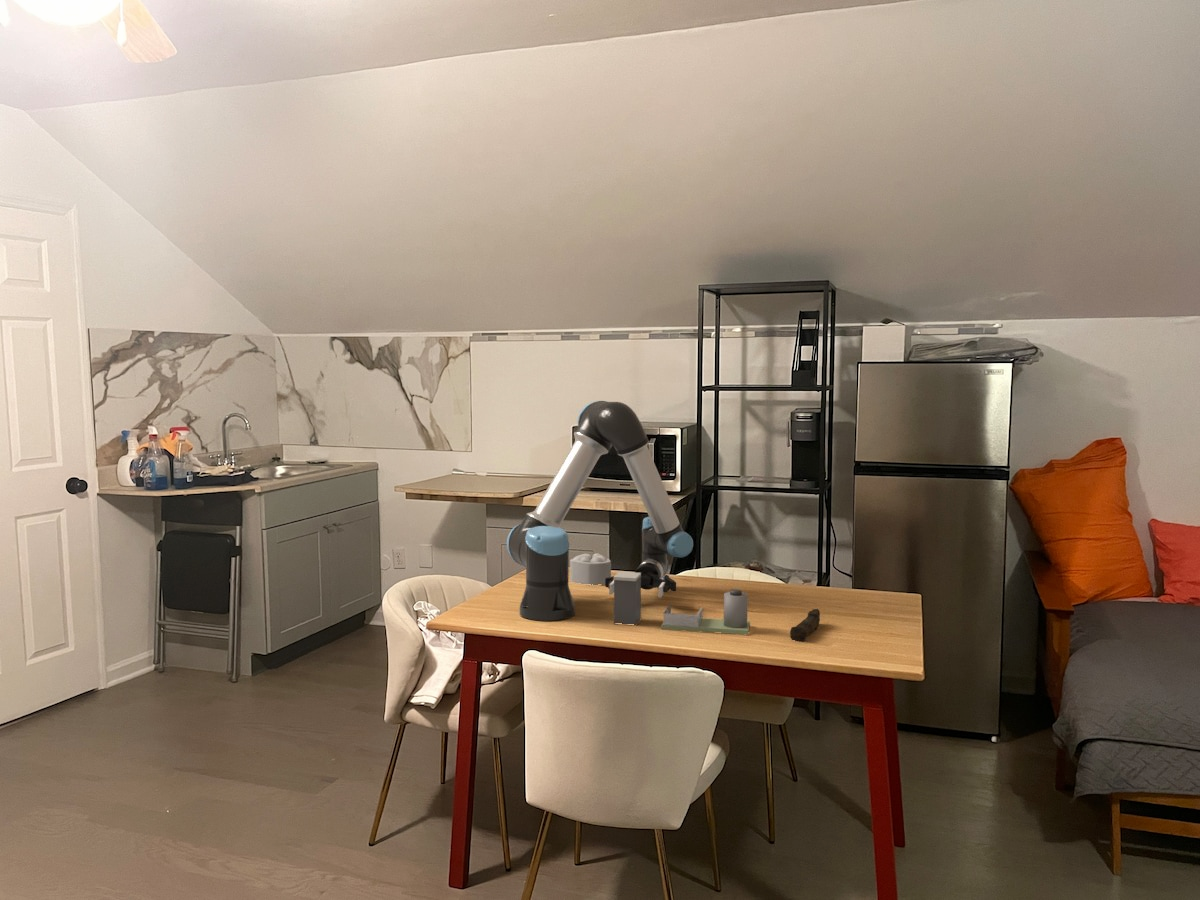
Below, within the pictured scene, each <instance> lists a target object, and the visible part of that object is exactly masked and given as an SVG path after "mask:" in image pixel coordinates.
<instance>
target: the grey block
mask: <svg viewBox="0 0 1200 900" xmlns="http://www.w3.org/2000/svg"><path fill="white" fill-rule="evenodd" d="M613 576H614V577H613V580H614V593H613V624H614V623H622V624H634V625H636V624H637V623H638V622H639V623H640V622H641V620H640V619H642V618H641V616H642V613H641V611H642V609H641V607H642V603H641V602H642V598H641V597H642V596H641V595H642V588H641V573H635V571H634V572H631V571H618V572H617V573H616V574H615V575H613ZM639 623H638V624H639ZM638 624H637V625H638ZM637 625H636V626H637Z"/></svg>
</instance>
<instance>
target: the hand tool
mask: <svg viewBox="0 0 1200 900" xmlns="http://www.w3.org/2000/svg"><path fill="white" fill-rule="evenodd" d="M820 617H821V612H820V609H818V608H813V609H812V610H809V611H808V613H807V616H806V618H804V619H803V620H802V621H801V622H799V623H798V624H797V625H795V626H791V628H790V631H789V637H790V640H791V641H792V640H795V642H798V641H799V642H801V643H802V642H804V641H806V639H807V637H808V635H809V634H811V633H812V632H813V631H814V630H818V629H819V627H820V619H821V618H820ZM817 628H818V629H817ZM799 642H798V643H799Z"/></svg>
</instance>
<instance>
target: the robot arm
mask: <svg viewBox="0 0 1200 900" xmlns="http://www.w3.org/2000/svg"><path fill="white" fill-rule="evenodd" d="M573 435H574V443H573V444H572V446H571V448H570V449H569V451H568V453H567V454H566V456H565V458H564V459H563V461H562V463H561V464H560V467H559V468H558V470H557V472H556V473H555V475H554V477H553V478H552V480H551V482H550V484H549V486H548V487H547V489H546V490H545V492H544V494H543V496H541V499H540V500H539V503H538V504H537V506H536V508H535V509H534V510H533V511H531V512H527V513H526V514H525V516H524V518H523V519H522V521H521V522H520V523H519V524H517V525H515V526H514V527H512V529H511V530H510V532H508V535H507V538H506V539H507V540H506V549H507V552H508V554H509V556H510V557H511V559H513V561H514V563H515V562H516V563H517V564H519V565H520V566H522V567H525V589H524V592H523V595H522V598H521V602H520V605H519V616H520V617H522V616H523V617H522V618H524V617H525V618H524V619H527V618H528V619H527V620H532V619H533V621H541V622H542V621H545V622H546V621H549V620H550V621H561V620H566V619H569V618H571V616H572V617H574V616H575V613H576V612H575V608H576V607H575V602H574V598H573V597H572V593H571V589H570V587H569V577H570V574H569V573H570V571H569V570H570V568H569V567H570V565H569V563H570V561H569V560H570V558H569V555H570V554H569V552H570V549H569V548H570V540H569V535H568V533H567V531H565V530H564V529H563V528H561V524H562V523H563V521H564V519H565V517H566V516H567V514H568V512H569V511H570V509H571V507H572V506H573V504H574V502H575V501H576V499H577V497H578V495H579V494H580V492H581V490H582V488H583V486H584V484H586V481H587V480H588V477H590V474H591V473H592V471H593V470H594V467H595V465H596V464H597V462H598V460H599V459H600V457H601V456H602V455H606V454H608V453H609V452H610V450H611V448H612V447H614V449H615V452H616V453H617V455H618V456H620V457H622V458H623V460H624V464H626V467H627V469H628V472H629V474H630V476H631V479H632V480H633V483H634V486H635V488H636V489H637V493H638V494H639V496H640V500H641V502H642V504H643V506H644V508H645V511H646V512H647V515H648V516H647V517H644V518H643V520H642V528H641V539H642V541H641V542H642V546H641V547H642V553H641V563H640V565H639V566H638V567H637V568H636V569H635V571H634V573H641V590H645V591H646V590H652V589H655V588H658V589H657V590H658V592H657V593H658V594H657V595H658V597H657V598H662V596H663V595H664V594H665V593H668V592H670V591H671V592H676V591H677V582H676V581H675V580H674V579H672V578H671V577H670V575H668V574H667V572H668V570H669V562H668V558H667V557H668V556H667V555H669V556H671V557H675V558H680V559H681V558H685V557H687V556H688V555H689V554H690V553H692V551H693V547H694V540H693V538H692V536H691V535H690V534H689V533H687V532H686V531H684V529H683V527H682V525H681V523H680V521H679V518H678V516H677V513H676V511H675V509H674V507H673V504H672V501H671V499H670V496H669V495H668V492H667V490H666V488H665V485H664V483H663V480H662V477H661V475H660V474H659V471H658V468H657V466H656V464H655V462H654V459H653V457H652V454H651V452H650V450H649V448H648V445H649V443H650V441H649V438H648V436H647V434H646V431H645V429H644V427H643V425H642V423H641V421H640V419H639V417H638V416H637V414H636V412H635V411H634V410H633V409H632V408H631V407H630V406H629V405H627V403H626V404H625V403H624V402H621V401H605V400H597V401H593V402H590V403H588V404H587V405H585V406H584V407H583V408H582V409H581V410H580V412H579V414H578V417H577V427H576V429H575V431H574V433H573ZM614 576H615V575H613V576H612V575H611V577H608V578H605V585H604V587H605V588H608V590H609V595H614V580H613V577H614Z"/></svg>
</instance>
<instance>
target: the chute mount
mask: <svg viewBox="0 0 1200 900" xmlns="http://www.w3.org/2000/svg"><path fill="white" fill-rule="evenodd" d="M703 613H704V612H703V607H702V606H701V607H700V608H699V610H698V612H697V613H696V614H691V613H690V614H686V613H676V612H675V613H673V612H672V605H671V604H670V605H668V606H667V607H666V609H665V610H664V612H663V622H664V625H675V626H689V627H699V625H700V623H701V621H702V619H703V618H704V617H703V615H704V614H703Z"/></svg>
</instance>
